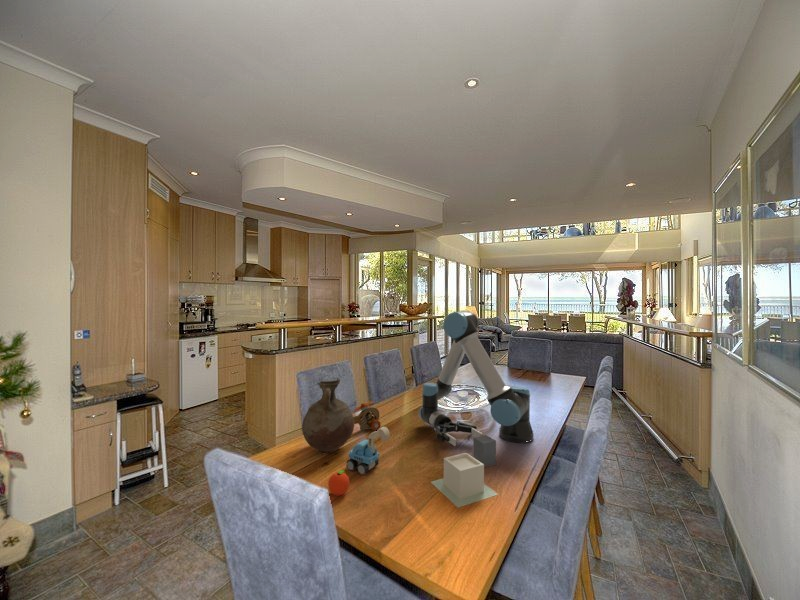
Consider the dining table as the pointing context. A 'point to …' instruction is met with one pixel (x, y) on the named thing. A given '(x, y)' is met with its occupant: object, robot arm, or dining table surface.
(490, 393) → the robot arm
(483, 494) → the green baseplate
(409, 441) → the dining table surface
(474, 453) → the charcoal brick
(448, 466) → the cream base brick
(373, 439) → the toy excavator
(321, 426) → the jug
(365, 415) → the toy helicopter
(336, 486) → the clementine
